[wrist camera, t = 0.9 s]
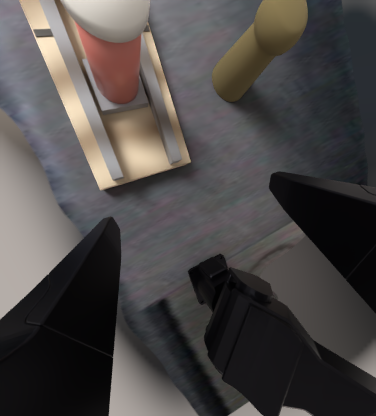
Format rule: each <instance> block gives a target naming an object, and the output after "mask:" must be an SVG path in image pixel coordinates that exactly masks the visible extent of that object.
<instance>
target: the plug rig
mask: <svg viewBox="0 0 376 416" xmlns="http://www.w3.org/2000/svg"><path fill="white" fill-rule="evenodd" d="M19 1H20V3H21V6H22V8H23V10H24V13H25V15H26V17H27V20H28V22H29V24H30V27H31V29H32V31H33V34H34V36H35V38H36V41H37V43H38V45H39V48H40V50H41V52H42V55H43V57H44V59H45V62H46V64H47V66H48V69H49V71H50V73H51V76H52V78H53V80H54V83H55V85H56V87H57V90H58V92H59V94H60V97H61V99H62V101H63V104H64V106H65V108H66V111H67V113H68V116H69V118H70V120H71V123H72V125H73V127H74V130H75V132H76V134H77V137H78V139H79V141H80V144H81V146H82V148H83V151H84V153H85V155H86V158H87V160H88V162H89V165H90V167H91V169H92V172H93V174H94V176H95V179H96V181H97V183H98V186H99V188H100V190H105V189H109V188H112V187H115V186H118V185H122V184H125V183H128V182H131V181H135V180H138V179H141V178H144V177H148V176H151V175H154V174H157V173H161V172H164V171H167V170H171V169H174V168H177V167H180V166H184V165H187V164H188V163H190V162H191V161H190V157H189V154H188V151H187V148H186V144H185V141H184V138H183V135H182V131H181V128H180V125H179V122H178V118H177V115H176V112H175V109H174V105H173V102H172V99H171V96H170V92H169V89H168V86H167V83H166V79H165V76H164V73H163V70H162V66H161V63H160V60H159V57H158V53H157V50H156V47H155V44H154V40H153V37H152V34H151V31H150V27H149V24H148V22H147V25H146V27H145V29H144V31H143V32H142V33H141V52H140V70H139V76H140V79H141V82H142V85H143V88H144V91H145V94H146V97H147V100H148V107H145V108H139V109H134V110H128V111H123V112H118V113H112V114H107V115H103V113H102V110H101V108H100V105H99V103H98V100H97V97H96V95H95V92H94V90H93V87H92V84H91V82H90V79H89V77H88V74H87V72H86V69H85V66H84V64H83V61H82V59H87V57H86V54H85V51H84V48H83V45H82V42H81V39H80V36H79V33H78V30H77V27H76V24H75V21H74V20H73V18H72V17H71V16H70V15H69V14H68V12H67V11H66V9H65V8H64V6H63V4H62V3H61V1H60V0H19Z"/></svg>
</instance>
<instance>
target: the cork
mask: <svg viewBox="0 0 376 416" xmlns="http://www.w3.org/2000/svg"><path fill="white" fill-rule="evenodd" d="M307 15H308V10H307V4H306V0H263V1H262V3H261V5H260V6H259V8H258V11H257V13H256V16H255V20H254V23H253V24H252V25H251V26H250V27H249V29H248V30H247V31H246V32H245V33H244V34H243V35H242V36H241V37H240V39H239V40H238V41H237V42H236V43H235V44H234V45H233V46H232V47H231V49H230V50H229V51H228V52H227V53H226V54H225V55H224V56H223V58H222V59H221V60H220V61H219V62H218V63H217V64H216V66H215V67H214V69H213V73H212V82H213V86H214V89H215V90H216V92H217V94H218V95H219V96H220V97H221V98H222V99H224V100H226V101H229V102H234V101H237V100H239V99H240V98H241V97H242V96H243V95H244V93H245V92H246V91H247V90H248V89H249V87H250V86H251V85H252V84H253V83H254V81H255V80H256V79H257V78H258V77H259V75H260V74H261V73H262V72H263V71H264V69H265V68H266V67H267V66H268V64H269V63H270V62H271V61H272V60H273V58H274V57H275V56H279V55H282V54H283V53H285V52H286V51H288V50H289V49H290V48H291V47H293V46H294V45H295V44H296V42H297V41H298V40H299V38H300V37H301V35H302V33H303V31H304V29H305V27H306V23H307Z"/></svg>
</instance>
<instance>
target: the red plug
mask: <svg viewBox="0 0 376 416" xmlns="http://www.w3.org/2000/svg"><path fill="white" fill-rule="evenodd" d="M60 1H61V3H62V4H63V6H64V8H65V9H66V11H67V12H68V14H69V15H70V16H71V17H72V18H73V20H74V21H75V24H76V27H77V30H78V33H79V36H80V39H81V42H82V45H83V48H84V51H85V54H86V57H87V59H82V61H83V64H84V66H85V69H86V72H87V74H88V77H89V79H90V82H91V84H92V87H93V90H94V92H95V95H96V97H97V100H98V103H99V105H100V108H101V110H102V113H103V115H107V114H112V113H118V112H123V111H128V110H134V109H139V108H145V107H148V100H147V97H146V94H145V91H144V88H143V85H142V82H141V79H140V76H139V70H140V52H141V33H142V32H143V31H144V29H145V27H146V25H147V22H148V18H149V8H150V0H60Z"/></svg>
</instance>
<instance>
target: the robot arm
mask: <svg viewBox="0 0 376 416" xmlns="http://www.w3.org/2000/svg"><path fill="white" fill-rule="evenodd" d="M269 189H270V191H271V192H272V194H273V195H274V196H275V198H276V199H277V201H278V202H279V204H280V205H281V206H282V208H283V209H284V210H285V211H286V213H287V214H288V215H289V216H290V217H291V218H292V219H293V221H294V222H295V223H296V224H297V225H298V226H299V227H300V228H301V230H302V231H303V232H304V233H305V234H306V235H307V236H308V238H309V239H310V240H311V241H312V242H313V243H314V244H315V245H316V246H317V248H318V249H319V250H320V251H321V252H322V253H323V254H324V255H325V257H326V258H327V259H328V260H329V261H330V262H331V263H332V264H333V266H334V267H335V268H336V269H337V270H338V271H339V272H340V274H341V275H342V276H343V277H344V278H345V279H346V281H347V282H348V283H349V284H350V285H351V286H352V287H353V288H354V290H355V291H356V292H357V293H358V294H359V295H360V296H361V298H362V299H363V300H364V301H365V302H366V303H367V304H368V305H369V307H370V308H371V309H372V310H373V311H374V312H375V313H376V188H375V187H368V186H363V185H357V184H351V183H345V182H339V181H333V180H327V179H321V178H315V177H310V176H304V175H298V174H292V173H286V172H275V173H272V175H271V178H270V183H269ZM220 257H221V258H220ZM120 266H121V239H120V229H119V227H118V225H117V223H116V222H115V220H114V218H113V217H107V218H104V219H102V220H101V221H100V222H99V223H98V224H97V225H96V226H95V227H94V229H93V230H92V231H91V232H90V233H89V234H88V235H87V236H86V237H85V238H84V239H83V240H82V241H81V242H80V243H79V244H78V245H77V246H76V247H75V248H74V249H73V250H72V251H71V252H70V253H69V254H68V255H67V256H66V257H65V258H64V259H63V260H62V261H61V262H60V263H59V264H58V265H57V266H56V267H55V268H54V269H53V270H52V271H51V272H50V273H49V275H47V276H46V277H45V278H44V279H43V280H42V281H41V282H40V283H39V284H38V285H37V286H36V287H35V288H34V289H33V290H32V291H31V292H30V293H29V294H27V295H26V297H24V298H23V299H22V300H21V301H20V302H19V303H18V304H17V305H16V306H15V307H14V308H13V309H11V310H10V311H9V312H8V313H7V314H6V315H5V316H4V317H2V319H0V416H109V404H110V392H111V379H112V366H113V358H112V357H113V352H114V341H115V327H116V315H117V303H118V291H119V279H120ZM191 271H193V272H192V273H191ZM188 274H189V277H190V279H191V282H192V285H193V288H194V291H195V293H196V296H197V299H198V302H199V303H200V304H201V305H203V304H204V303H207V305H208V306H209V308H210V309H211V311H212V312H213V314H212V317H211V319H210V322H209V324H208V325H207V327H206V333H205V335H204V341H205V345H206V347H207V350H208V357H209V359H210V361H211V362H212V363H213V365H214V366H215V368H216V369H217V370H218V371H219V373H221V374H222V375H223V376H222V380H223V381H224V382H226V383H227V384H229V385H231V386H233V387H234V388H235V389H237V390H238V391H239V392H240V393H242V394H243V395H244V396H245V397H246V398H247V399H248V400H249V401H250V402H251V404H253V405H254V407H255V408H256V409H257V410H258V411H259V412H260V413H261V414H262V415H263V416H279V414H280V411H281V408H282V407H288V408H295V409H300V410H304V411H306V412H308V413H309V414H310V415H312V416H376V378H375V377H373V376H372V375H370V374H368V373H367V372H365V371H363V370H362V369H360V368H358V367H357V366H355V365H353V364H352V363H350V362H349V361H347V360H345V359H344V358H342V357H340V356H339V355H337V354H335V353H334V352H332V351H330V350H329V349H327V348H325V347H324V346H322V345H320V344H319V343H317V342H316V341H314V340H313V339H312V338H311V337H310V335H309V334H308V333H307V331H306V330H305V329H304V327H303V326H302V325H301V323H300V322H299V321H298V319H297V318H296V317H295V316H294V314H293V313H292V312H291V310H290V309H289V308H288V307H287V306H286V305H284V304H283V303H281V302H280V301H278V300H276V299H275V298H273V293H272V289H271V286H270V284H269V283H268V282H266V281H264V280H262V279H261V278H259V277H257V276H255V275H253V274H249V273H246V272H243V271H240V270H237V269H234V268H231V267H230V268H229V270H228V268H227V265H226V262H225V258H224V256H223V255H222V254H219V255H217V256H215V257H211V258H209V259H207V260H206V261H204V262H202V263H200V264H199V265H197V266H195V267H193V268H191V269H190V270H189V271H188ZM201 301H202V302H201Z"/></svg>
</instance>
